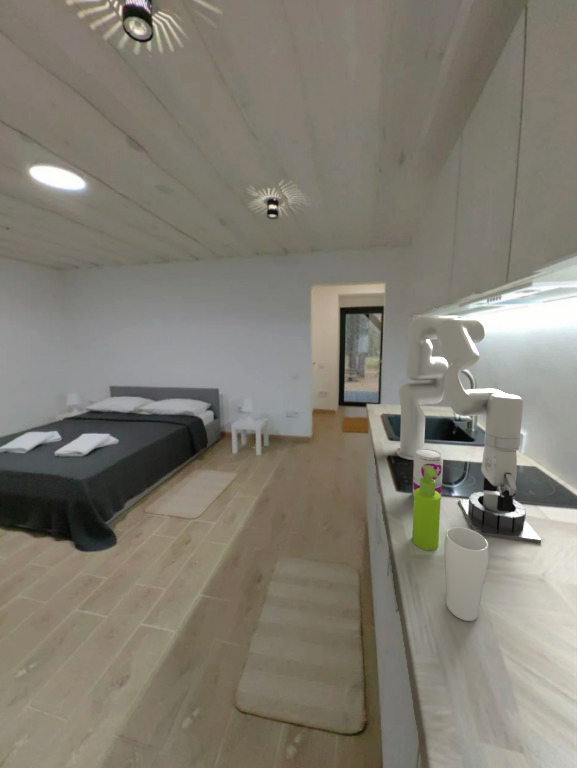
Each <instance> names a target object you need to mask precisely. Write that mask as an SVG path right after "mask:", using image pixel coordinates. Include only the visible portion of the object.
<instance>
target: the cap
mask: <svg viewBox="0 0 577 768" xmlns="http://www.w3.org/2000/svg"><path fill="white" fill-rule="evenodd" d="M483 492H484V497H483V503H482V504H481V505H483V506H484V507H486V508H488V509H490V510H494V511H497V512H503V513H509V512H507V511H499V510H498V509H497V502H498V495H500V493H499V491H497V492H496V491H486V490H483Z"/></svg>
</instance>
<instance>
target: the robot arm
mask: <svg viewBox="0 0 577 768" xmlns="http://www.w3.org/2000/svg"><path fill="white" fill-rule="evenodd" d="M407 336H408V342H409V343H408V344H409V346H408V353H407V362H406V368H405V375H406V377H407V379H409V380H411V382H409V381H408V382H406V383H402V385H401V386H400V387H399V390H398V395H399V403H400V433H399V435H400V437H399V438H400V439H399V441H400V442H399V443H400V444H399V448H396V451H395V453H396V455H397V456H398V457H399V458H402V459H404V460H405V459H406V460H410V461H414V455H415V453H416V451H417V450H419V449H425V437H426V435H425V433H426V432H425V430H426V414H425V412H424V410H423V409H422V407H421V406H422V405H435V404H437V405H438V404H439V403H441V402H442V401H443V399H444V396H446V399H447V402H448V404H449V406H450V408H451V410H452V412H454V413H455V414H456V415H458V416H461V417H473V416H474V417H475V416H485V429H484V432H485V433H484V442H483V443H484V448H483V454H482V461H481V468H480V469H481V473H482V474H483V476H484V478H483V488H482V490H483V491H484V490H486V491H496V492H499V493H500V495H498V502H497V509H498V510H499V511H507V512H512V507H513V499H514V500H515V495H516V492H517V485H516V483H517V482H516V481H517V468H518V467H517V466H518V465H517V462H518V460H517V459H518V458H517V457H518V456H517V451H519V450H520V444H521V441H520V440H521V429H522V420H523V410H524V401H523V400H524V399H523V398H522V397H520V396H519V395H516V394H510V393H505V392H503V391H502V390H499V389H497V388H472V389H471V388H470V389H465V388H464V387H463V385H462V381H461V379H460V373H461V372H463V371H465V370H467V369H469V368H471V367H473V366H474V365H475V364H476V363H477V362H479V359H480V353H479V351H478V349H477V348H476V345H475V344H478V343H480V342H482V341H483V340H484V339H485V336H486V326H485V324H484V323H483V321H482V320H481V319H479V318H477V317H469V316H461V315H425V316H424V315H423V316H420V317H419V316H418V317H415V318H414V319H412V321H410V323H409V326H408V329H407ZM432 340H438V342H439V344H440V346H441V349H442V351H443V353H444V356H445V357H443V356H438V355H437V356H436V355H435V356H433V355H432V354H433V351H434V349H433V344H432V342H431V341H432ZM445 358H446V359H445ZM504 489H506V490H504ZM497 490H498V491H497Z"/></svg>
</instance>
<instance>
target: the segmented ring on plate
mask: <svg viewBox="0 0 577 768" xmlns="http://www.w3.org/2000/svg"><path fill="white" fill-rule="evenodd" d="M483 497H484V491H478V492H473V493H471V494H470V496H469V498H468V499H464V498H463V499H462V498H458V503H459V505H460V508H461V509H462V511H463V513H464V515H465V517H466V519H467V520H468V522H469V524H470V526H471V528H472V530H473V531H475V532H477V533H479V534H481V535H482V536H483V537H484V538H485V537H487V538H495V539H503V540H510V541H520V542H528V543H534V544H542V539H541V537H540V536H539V535H538V534H537V533H536V531H534V529H533V528H532V526H531V525H530V524H529V523H528V522H527V521H526V515H527V509H526V508H525V507H524V505H522V503H521V502H519V501H517V500H516V499H515V498H514V499H513V507H512V512H509V513H503V512H497V511H494V510H490V509H488V508H486V507H484V506H483V505H481V504H482V503H483Z"/></svg>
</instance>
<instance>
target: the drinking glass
mask: <svg viewBox="0 0 577 768" xmlns="http://www.w3.org/2000/svg"><path fill="white" fill-rule="evenodd" d="M488 562H489V543H488V540H487V539H486V538H485V536H482V535H481V534H479V533H477V532H475V531H474V530H473V529H470V528H467V527H462V526H454V527H449V528H448V529H447V530H446V533H445V541H444V566H445V567H444V568H445V585H446V586H445V593H446V594H445V595H446V596H445V597H446V598H445V603H446V607H447V608H448V610H449V612H450V613H451V614H452V615H453V616H455V617H456V618H458V619H460V620H462V621H465V622H473V621H475V620H477V619H478V617H479V615H480V605H481V600H482V595H483V589H484V584H485V579H486V574H487V570H488Z"/></svg>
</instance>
